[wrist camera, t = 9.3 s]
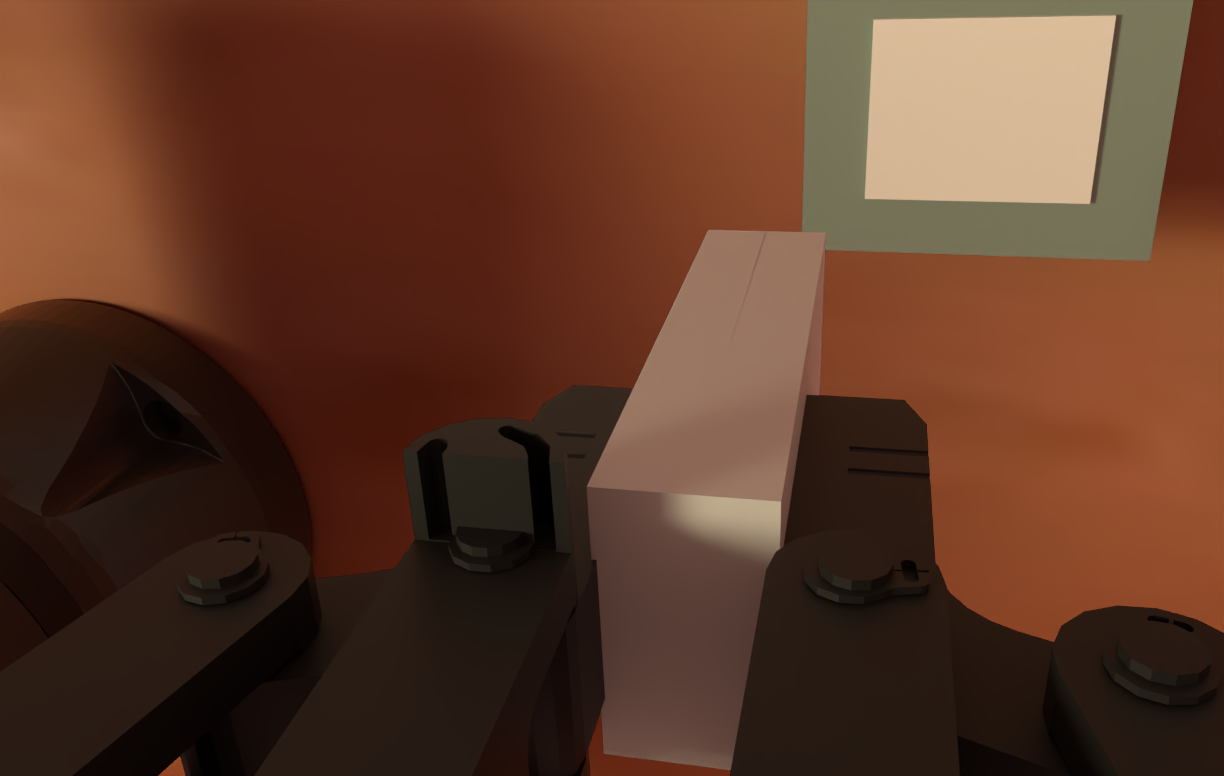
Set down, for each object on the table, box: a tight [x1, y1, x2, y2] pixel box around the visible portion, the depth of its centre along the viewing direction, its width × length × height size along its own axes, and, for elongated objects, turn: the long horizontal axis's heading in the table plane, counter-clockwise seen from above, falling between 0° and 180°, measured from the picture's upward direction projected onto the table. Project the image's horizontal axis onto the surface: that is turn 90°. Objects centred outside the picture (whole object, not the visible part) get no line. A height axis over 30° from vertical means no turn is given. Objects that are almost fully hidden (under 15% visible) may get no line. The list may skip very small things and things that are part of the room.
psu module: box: [802, 0, 1193, 261], centre depth 25 cm, size 7×6×6 cm
